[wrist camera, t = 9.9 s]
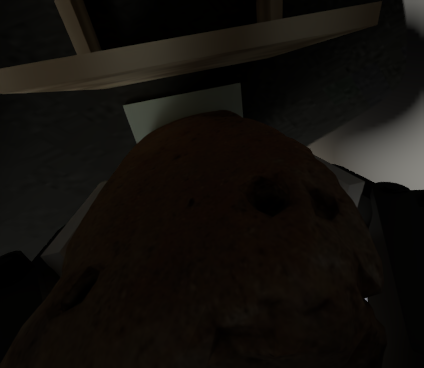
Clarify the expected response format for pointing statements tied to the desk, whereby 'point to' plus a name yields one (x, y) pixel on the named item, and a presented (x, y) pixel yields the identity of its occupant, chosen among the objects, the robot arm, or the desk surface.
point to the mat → (181, 108)
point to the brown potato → (213, 261)
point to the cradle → (178, 48)
